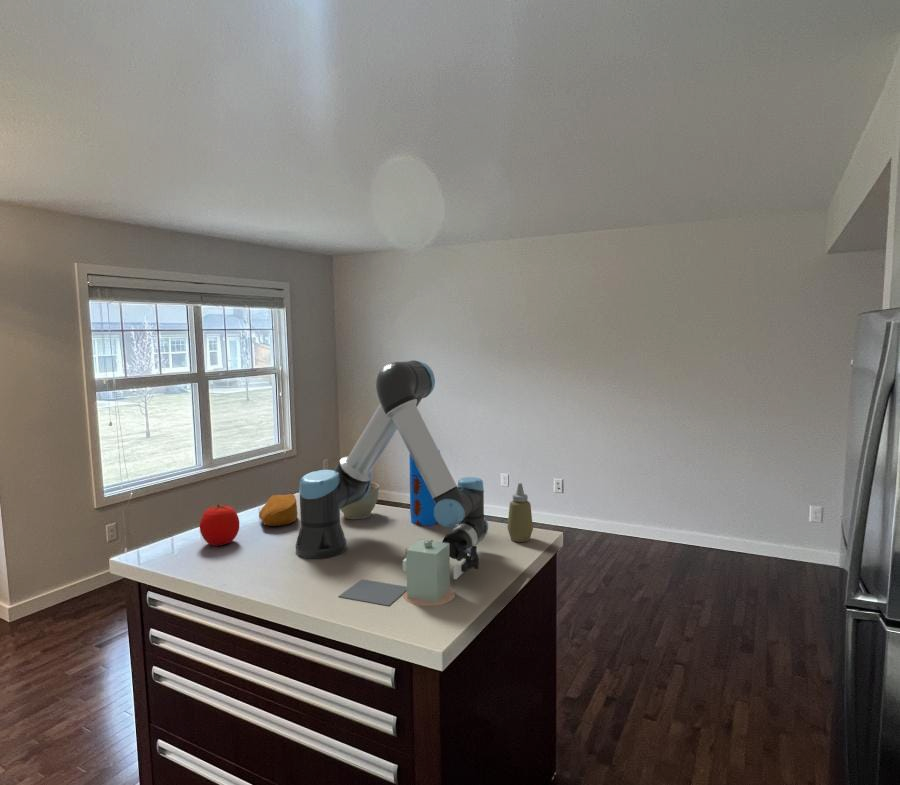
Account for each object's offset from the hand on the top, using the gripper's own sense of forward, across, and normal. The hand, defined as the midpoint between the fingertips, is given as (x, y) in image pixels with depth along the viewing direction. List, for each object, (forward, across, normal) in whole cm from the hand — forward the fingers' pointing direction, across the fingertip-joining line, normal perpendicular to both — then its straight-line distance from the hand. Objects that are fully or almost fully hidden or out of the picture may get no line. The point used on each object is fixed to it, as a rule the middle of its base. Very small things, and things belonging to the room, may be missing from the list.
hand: (429, 569), depth 143 cm
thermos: (-56, +26, -7) cm, 62 cm away
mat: (+3, +14, -7) cm, 16 cm away
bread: (-38, +75, -8) cm, 84 cm away
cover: (-1, 0, -6) cm, 7 cm away
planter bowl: (-53, +52, -7) cm, 75 cm away
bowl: (-1, 0, -7) cm, 7 cm away
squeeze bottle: (-49, -10, -7) cm, 50 cm away
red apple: (-12, +77, -7) cm, 79 cm away
